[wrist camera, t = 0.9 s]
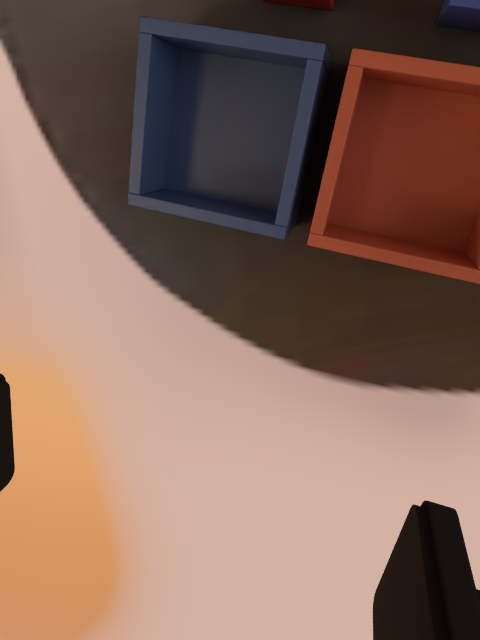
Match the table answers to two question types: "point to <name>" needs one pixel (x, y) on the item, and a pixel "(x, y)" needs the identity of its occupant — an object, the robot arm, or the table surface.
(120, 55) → the table surface
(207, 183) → the blue bin
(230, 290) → the table surface
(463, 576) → the robot arm
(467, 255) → the terracotta bin
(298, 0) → the red block
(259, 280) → the table surface
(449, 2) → the blue block
